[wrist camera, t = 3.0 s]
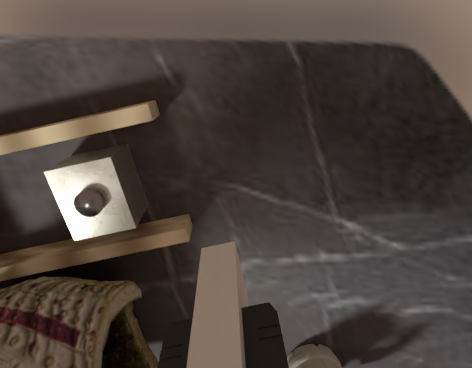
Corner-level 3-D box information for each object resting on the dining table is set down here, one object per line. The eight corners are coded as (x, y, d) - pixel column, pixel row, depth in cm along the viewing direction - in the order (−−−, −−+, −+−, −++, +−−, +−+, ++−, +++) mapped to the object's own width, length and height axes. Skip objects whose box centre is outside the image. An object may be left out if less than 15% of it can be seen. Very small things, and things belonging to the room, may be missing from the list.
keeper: (96, 215, 35) (70, 245, 29) (71, 155, 33) (38, 174, 27) (148, 204, 35) (133, 232, 29) (128, 142, 33) (107, 159, 27)
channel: (-19, 270, 37) (-63, 307, 31) (-87, 154, 32) (-153, 173, 26) (192, 225, 36) (187, 254, 30) (155, 99, 31) (140, 106, 25)
